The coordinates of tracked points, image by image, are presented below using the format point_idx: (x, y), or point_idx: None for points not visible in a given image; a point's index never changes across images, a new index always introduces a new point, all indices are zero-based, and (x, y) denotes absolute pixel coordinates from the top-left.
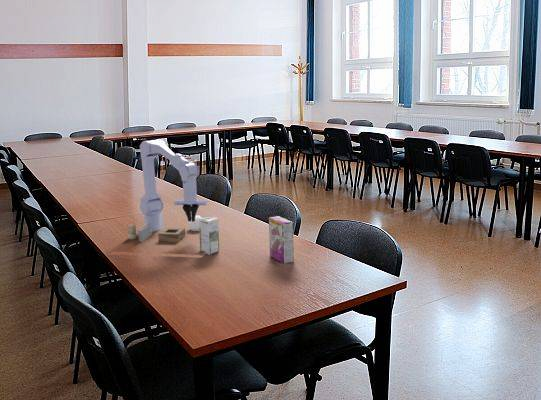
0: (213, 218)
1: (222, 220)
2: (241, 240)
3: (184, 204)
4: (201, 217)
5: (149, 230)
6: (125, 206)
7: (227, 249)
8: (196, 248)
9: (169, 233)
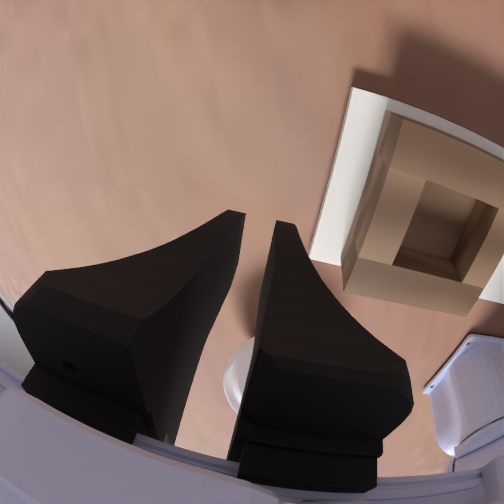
0: None
1: (201, 423)
2: (32, 175)
3: (343, 485)
4: (238, 408)
5: None
6: None
7: (54, 21)
8: (228, 3)
9: (469, 167)
